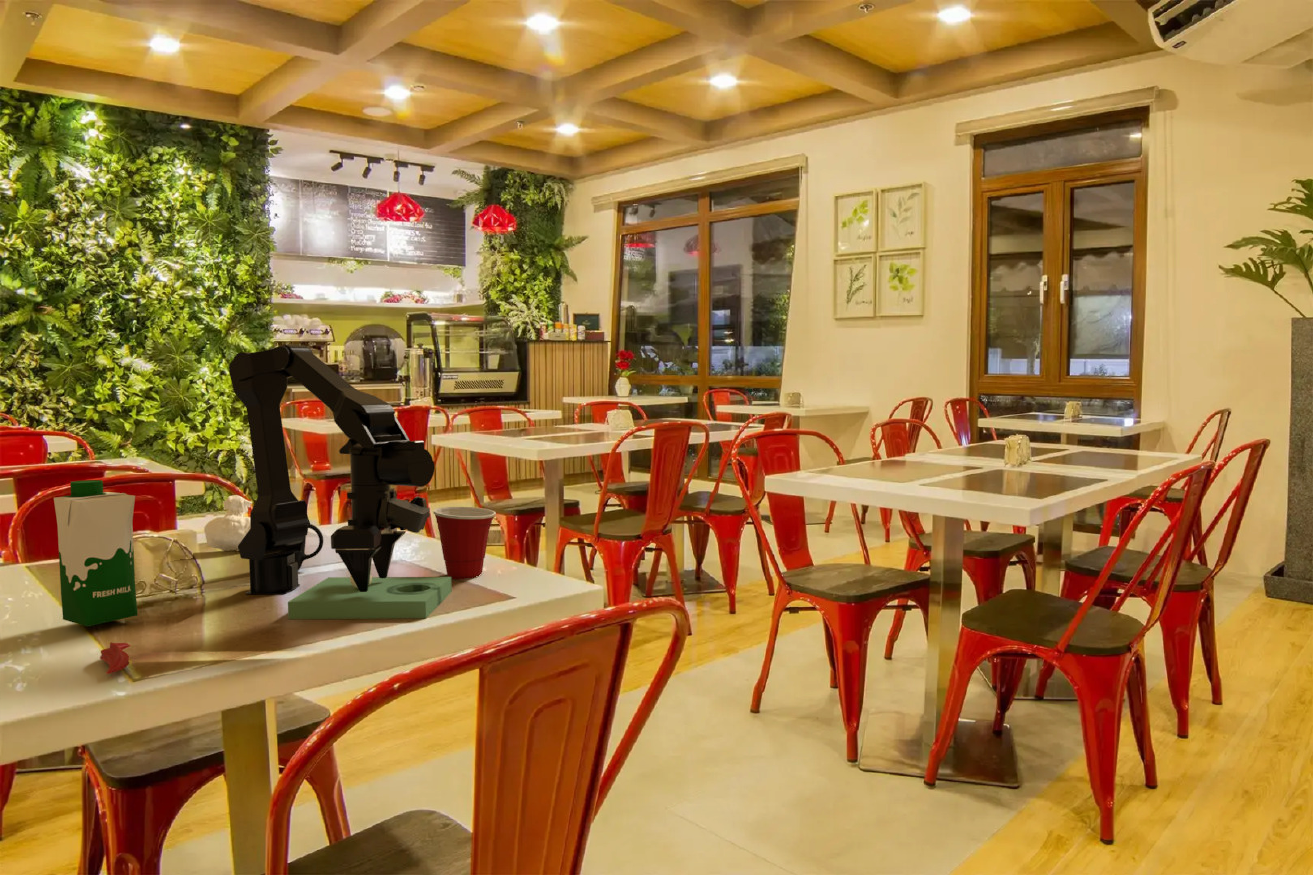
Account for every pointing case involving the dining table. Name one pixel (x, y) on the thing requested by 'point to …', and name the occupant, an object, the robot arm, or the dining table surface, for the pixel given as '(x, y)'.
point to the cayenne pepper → (115, 657)
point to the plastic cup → (463, 539)
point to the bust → (229, 525)
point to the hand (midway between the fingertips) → (373, 584)
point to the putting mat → (371, 598)
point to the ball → (354, 582)
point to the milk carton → (96, 554)
